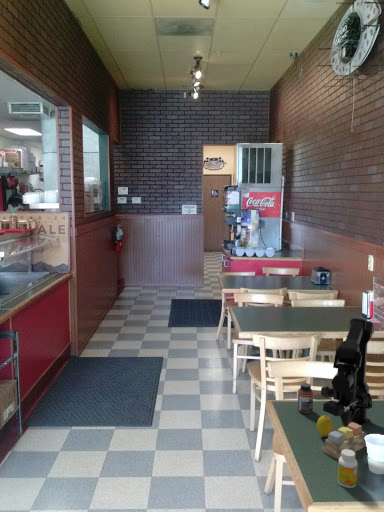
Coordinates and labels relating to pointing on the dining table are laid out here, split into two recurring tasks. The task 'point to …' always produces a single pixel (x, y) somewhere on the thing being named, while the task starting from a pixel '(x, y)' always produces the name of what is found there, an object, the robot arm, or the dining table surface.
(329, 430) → the lemon
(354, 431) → the button terracotta
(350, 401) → the robot arm
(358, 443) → the button board
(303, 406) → the supplement bottle
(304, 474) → the dining table surface
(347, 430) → the button yellow
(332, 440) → the button slate
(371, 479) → the dining table surface
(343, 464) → the supplement bottle
